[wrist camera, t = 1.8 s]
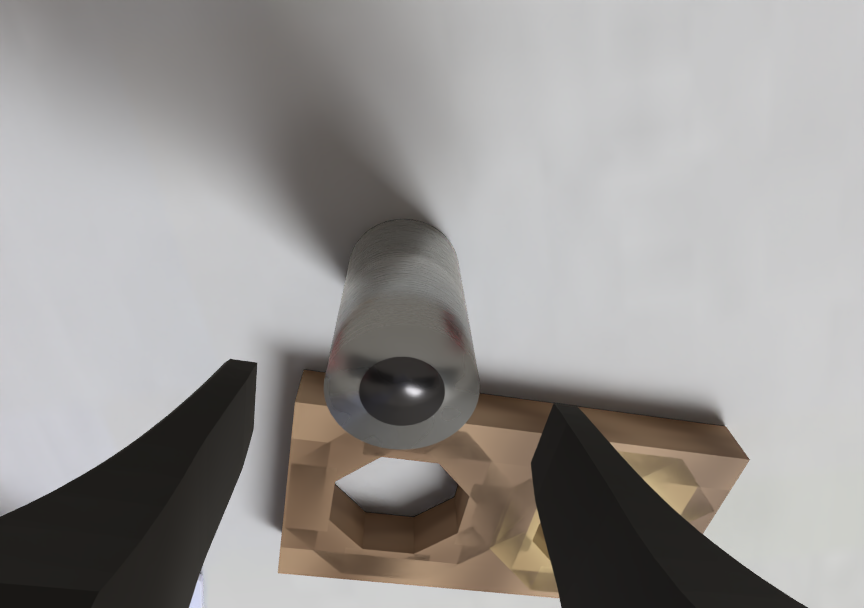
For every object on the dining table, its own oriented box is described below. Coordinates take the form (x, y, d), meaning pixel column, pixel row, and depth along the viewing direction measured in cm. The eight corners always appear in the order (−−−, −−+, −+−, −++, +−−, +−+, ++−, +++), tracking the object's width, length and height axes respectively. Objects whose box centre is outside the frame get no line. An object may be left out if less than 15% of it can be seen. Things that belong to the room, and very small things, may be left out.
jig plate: (286, 535, 27) (277, 573, 26) (303, 369, 23) (294, 402, 21) (641, 570, 30) (656, 606, 28) (725, 426, 25) (749, 459, 23)
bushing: (342, 309, 21) (316, 441, 15) (356, 210, 19) (332, 315, 13) (446, 325, 22) (461, 458, 16) (469, 229, 20) (496, 339, 14)
